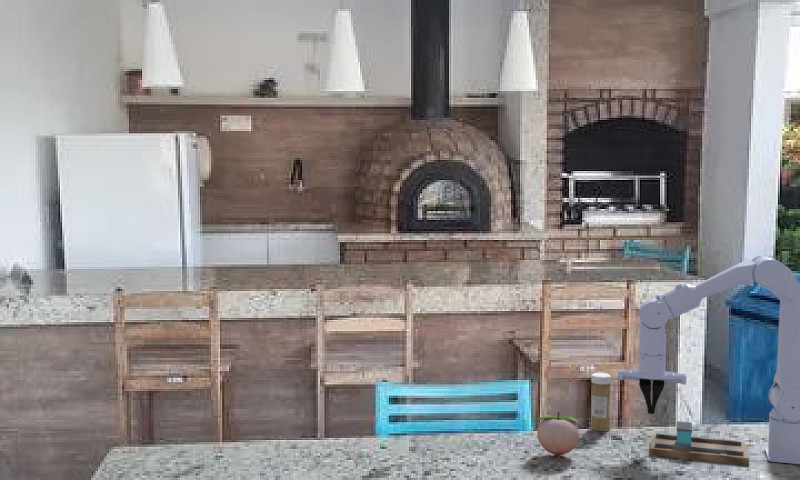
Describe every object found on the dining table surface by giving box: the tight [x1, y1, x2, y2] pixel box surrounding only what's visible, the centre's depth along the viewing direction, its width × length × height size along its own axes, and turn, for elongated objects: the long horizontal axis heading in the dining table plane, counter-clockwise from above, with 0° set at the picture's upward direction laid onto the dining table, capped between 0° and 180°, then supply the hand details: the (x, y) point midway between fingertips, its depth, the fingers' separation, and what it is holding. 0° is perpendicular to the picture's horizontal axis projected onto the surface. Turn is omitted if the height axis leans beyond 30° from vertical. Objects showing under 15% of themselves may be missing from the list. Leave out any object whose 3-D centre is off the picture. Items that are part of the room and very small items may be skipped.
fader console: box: [649, 432, 750, 466], centre depth 176 cm, size 20×10×2 cm, turn 71°
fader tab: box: [676, 420, 693, 445], centre depth 176 cm, size 3×5×4 cm, turn 161°
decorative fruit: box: [536, 411, 581, 457], centre depth 174 cm, size 9×8×10 cm
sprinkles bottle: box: [590, 372, 612, 432], centre depth 192 cm, size 5×5×14 cm
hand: (651, 412), depth 178 cm, fingers closed
